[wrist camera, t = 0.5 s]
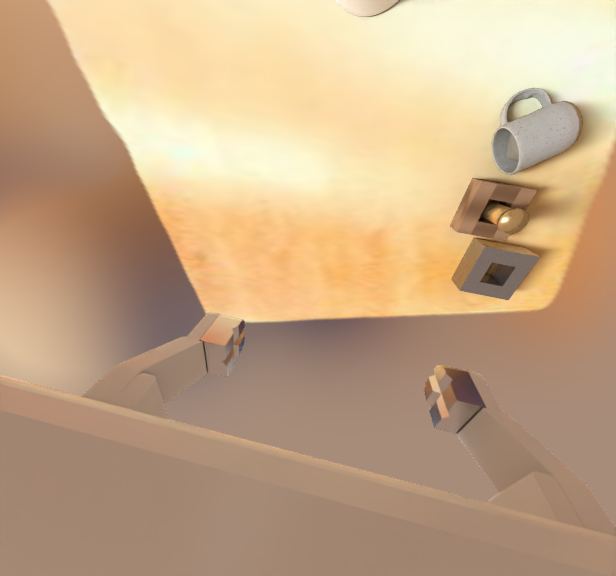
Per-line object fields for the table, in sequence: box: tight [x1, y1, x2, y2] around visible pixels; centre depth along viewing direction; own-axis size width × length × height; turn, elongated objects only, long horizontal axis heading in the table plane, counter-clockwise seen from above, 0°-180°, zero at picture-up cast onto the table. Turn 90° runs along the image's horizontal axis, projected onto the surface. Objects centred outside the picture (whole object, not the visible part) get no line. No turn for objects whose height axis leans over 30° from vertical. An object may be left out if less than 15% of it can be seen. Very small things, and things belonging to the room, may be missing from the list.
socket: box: [452, 238, 540, 300], centre depth 49 cm, size 10×10×5 cm
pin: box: [481, 200, 529, 234], centre depth 41 cm, size 4×4×10 cm
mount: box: [450, 178, 537, 241], centre depth 44 cm, size 9×9×4 cm
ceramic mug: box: [492, 88, 583, 175], centre depth 36 cm, size 11×8×8 cm
